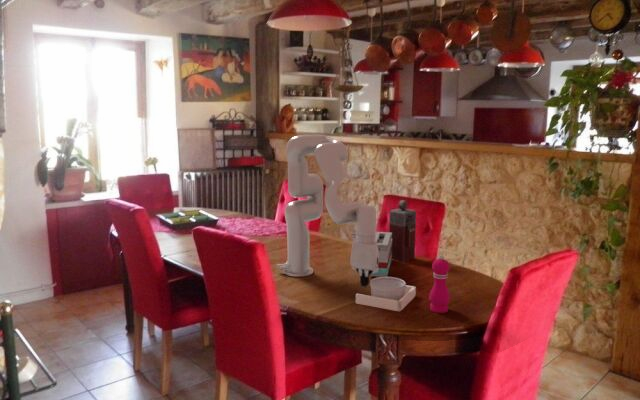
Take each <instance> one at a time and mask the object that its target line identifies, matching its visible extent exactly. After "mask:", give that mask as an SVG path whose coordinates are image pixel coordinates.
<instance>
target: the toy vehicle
mask: <svg viewBox="0 0 640 400" xmlns="http://www.w3.org/2000/svg"><path fill="white" fill-rule="evenodd" d="M375 242H377V245H378V252H379V266H378V269H379V271H378V272H377V273H371V274H370V275H369V277H375V278H378V277H388V275H389V270H390V267H391V265H392V261H393V260H392V259H391V258H392V233H390V232H389V231H387V232H385V231H376V239H375Z"/></svg>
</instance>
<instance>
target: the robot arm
mask: <svg viewBox="0 0 640 400" xmlns="http://www.w3.org/2000/svg"><path fill="white" fill-rule="evenodd" d="M348 150H349V149H348V148H347V146H346V145H345V144H344V143H343V142H342V141H340V140H337V139H336V138H333V137H331V136H328V135H325V134H320V133H319V134H300V135H296V136H293V137H291V138H290V139H289V140H288V142H287V144H286V147H285V155H286V161H287V190H288V193H289V196H290V197H292V198H295V199H296V198H297V199H299V200H293V201H290V202H288V204H286V205H285V207H284V218H285V222H286V238H287V241H286V242H287V244H286V245H287V246H286V247H287V248H286V249H287V253H286V254H287V257H286V258H287V260H286V261H285V262H283V263H276V269H279V270H283V274H285V275H286V276H290V277H295V278H296V277H297V278H299V277H307V276H311V275H313V273H314V269H313V268H312V267H310V231H309V228H308V227H307V224H306V222H311V221H316V220H318V219H320V218H321V217H322V215H323V212H324V205H325V208H326V210H327V213H328V214H329V217H330V218H331V220H332V221H333V222H334V223H335V224H337V225H345V224H350V223H355V233H352V234H351V238H353V239H354V240H353V242H352V244H351V252H350V263H349V264H350V267H351V268H350V269H352V270H353V271H356V272H357V273H358V275H359V278H360V280H359V283H360V286H361V287H364V288H366V287H367V286H368V285H370V276H369V275H370V274H371V273H377V272H378V271H379V269H378V266H379V252H378V245H377V242H375V239H376V232H377V230H376V228H377V227H376V226H377V225H376V224H377V209H376V207H375V206H373V205H367V204H363V203H361V202H357V201H353V202H347V203H341V201H340V199H339V196H338V188H339V185H341V184H342V183H343V182H344V181H345V180H346V179H347V173H346V170H345V168H344V167H343V164H342V163H344V162H346V161H347V159H348V156H349V151H348ZM306 156H307V157H308V156H314V158H315V159H316V163H317V165H318V168H319V169H320V172H321V174H322V176H323V179H324V181H325V183H326V184H325V185H326V186H325V190H324V184H323V181H322V180H323V179H322V178H321V177H320V176H319V175H318V174H316V173H309V163H308V161H307V158H305V157H306ZM300 198H305V199H300Z"/></svg>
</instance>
